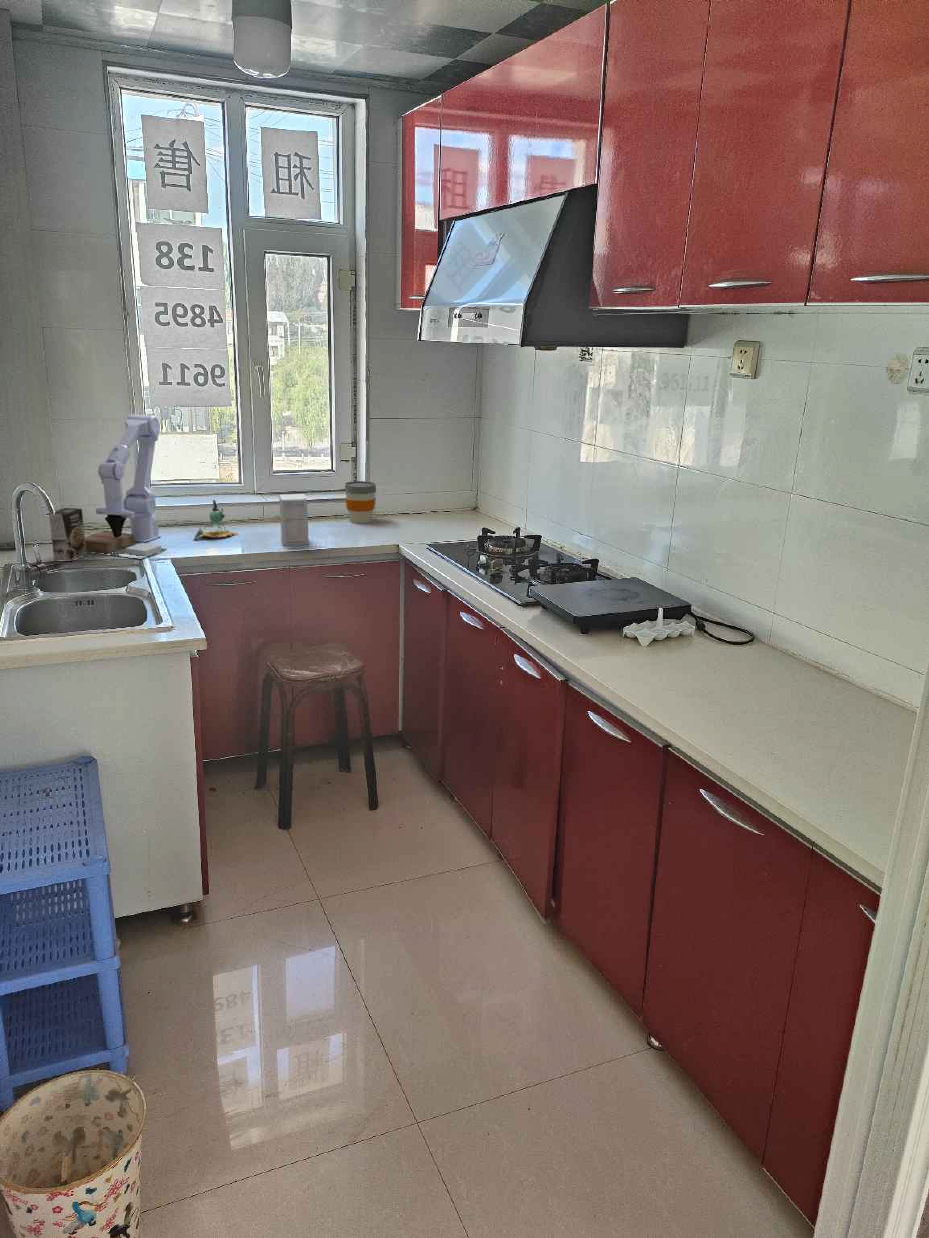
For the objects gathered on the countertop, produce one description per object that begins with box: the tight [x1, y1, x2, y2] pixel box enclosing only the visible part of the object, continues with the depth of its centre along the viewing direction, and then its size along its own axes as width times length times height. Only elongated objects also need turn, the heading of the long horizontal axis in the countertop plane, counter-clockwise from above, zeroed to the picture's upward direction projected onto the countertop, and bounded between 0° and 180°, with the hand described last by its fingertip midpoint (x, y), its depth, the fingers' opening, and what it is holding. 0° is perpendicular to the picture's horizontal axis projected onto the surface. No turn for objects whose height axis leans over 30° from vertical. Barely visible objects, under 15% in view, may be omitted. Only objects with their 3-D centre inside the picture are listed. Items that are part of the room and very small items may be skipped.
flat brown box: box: [85, 530, 136, 554], centre depth 306 cm, size 14×12×4 cm
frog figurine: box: [192, 499, 239, 542], centre depth 325 cm, size 10×18×15 cm, turn 123°
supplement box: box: [278, 493, 310, 547], centre depth 320 cm, size 10×9×17 cm
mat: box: [109, 545, 168, 557], centre depth 303 cm, size 14×13×1 cm
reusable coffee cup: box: [344, 480, 377, 524], centre depth 355 cm, size 13×13×15 cm
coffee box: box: [48, 507, 88, 561], centre depth 291 cm, size 9×6×16 cm
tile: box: [126, 542, 162, 557], centre depth 301 cm, size 8×8×2 cm
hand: (117, 536), depth 303 cm, fingers closed
